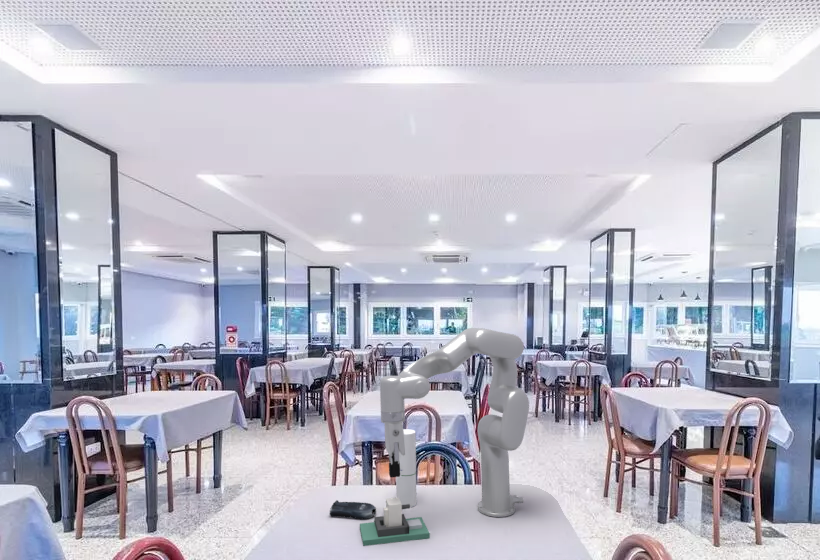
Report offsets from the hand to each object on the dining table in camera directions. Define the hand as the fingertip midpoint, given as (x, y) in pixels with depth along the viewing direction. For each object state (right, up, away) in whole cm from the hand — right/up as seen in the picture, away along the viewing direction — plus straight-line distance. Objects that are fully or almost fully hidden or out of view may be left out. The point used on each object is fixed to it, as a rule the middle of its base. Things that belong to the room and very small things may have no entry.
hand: (394, 476), depth 140 cm
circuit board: (0, -17, -1) cm, 17 cm away
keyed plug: (0, -16, -1) cm, 16 cm away
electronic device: (-14, -19, +13) cm, 27 cm away
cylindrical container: (+4, -19, +20) cm, 28 cm away
